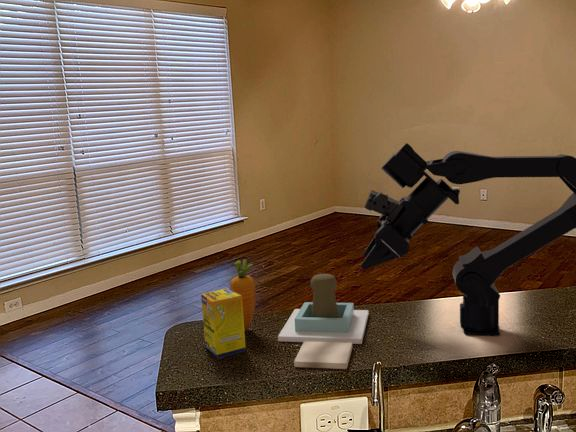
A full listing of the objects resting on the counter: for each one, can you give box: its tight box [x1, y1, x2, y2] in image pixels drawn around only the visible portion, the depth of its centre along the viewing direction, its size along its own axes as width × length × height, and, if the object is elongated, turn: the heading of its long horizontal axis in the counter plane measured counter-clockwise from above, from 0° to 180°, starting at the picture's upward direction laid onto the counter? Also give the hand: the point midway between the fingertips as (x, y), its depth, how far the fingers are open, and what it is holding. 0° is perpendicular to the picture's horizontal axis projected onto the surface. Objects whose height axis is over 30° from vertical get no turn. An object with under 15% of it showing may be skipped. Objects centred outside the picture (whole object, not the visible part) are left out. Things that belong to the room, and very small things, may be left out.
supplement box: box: [200, 287, 247, 360], centre depth 106 cm, size 6×6×11 cm
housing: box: [277, 301, 370, 345], centre depth 116 cm, size 16×16×4 cm
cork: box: [310, 273, 339, 318], centre depth 115 cm, size 6×6×11 cm
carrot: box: [229, 259, 256, 332], centre depth 115 cm, size 5×5×15 cm
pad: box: [293, 341, 353, 370], centre depth 101 cm, size 9×9×1 cm
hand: (363, 262), depth 112 cm, fingers open, 9 cm apart
